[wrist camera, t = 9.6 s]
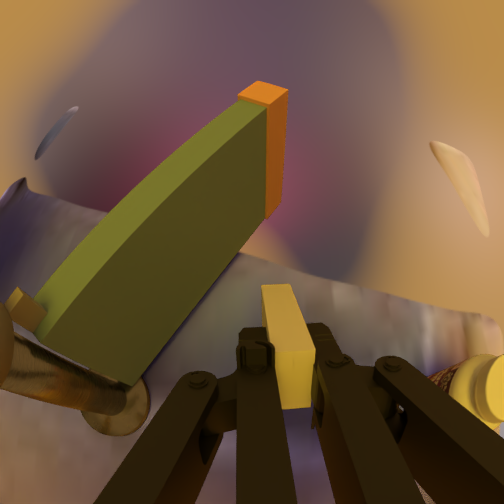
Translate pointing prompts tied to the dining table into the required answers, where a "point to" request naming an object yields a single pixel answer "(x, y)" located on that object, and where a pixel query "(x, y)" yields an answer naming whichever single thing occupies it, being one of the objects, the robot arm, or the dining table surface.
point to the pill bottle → (476, 386)
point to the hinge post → (77, 389)
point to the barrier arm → (160, 245)
